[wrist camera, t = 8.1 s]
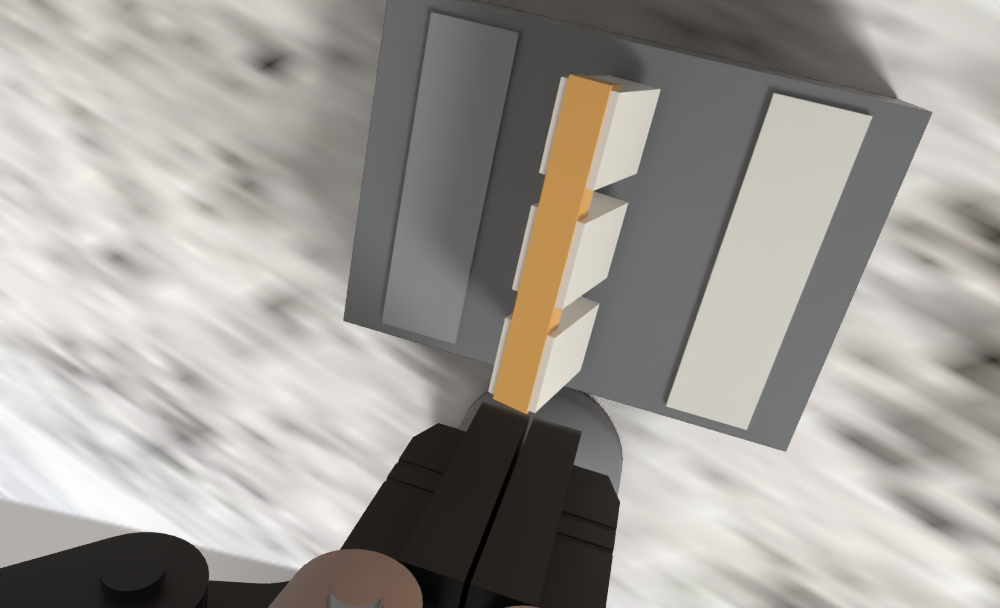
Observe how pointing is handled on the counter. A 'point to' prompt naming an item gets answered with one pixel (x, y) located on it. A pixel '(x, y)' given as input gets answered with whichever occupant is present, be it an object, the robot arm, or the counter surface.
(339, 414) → the counter surface
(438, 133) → the breaker panel
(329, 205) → the counter surface
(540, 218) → the breaker paddles
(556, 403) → the stand
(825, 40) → the counter surface
